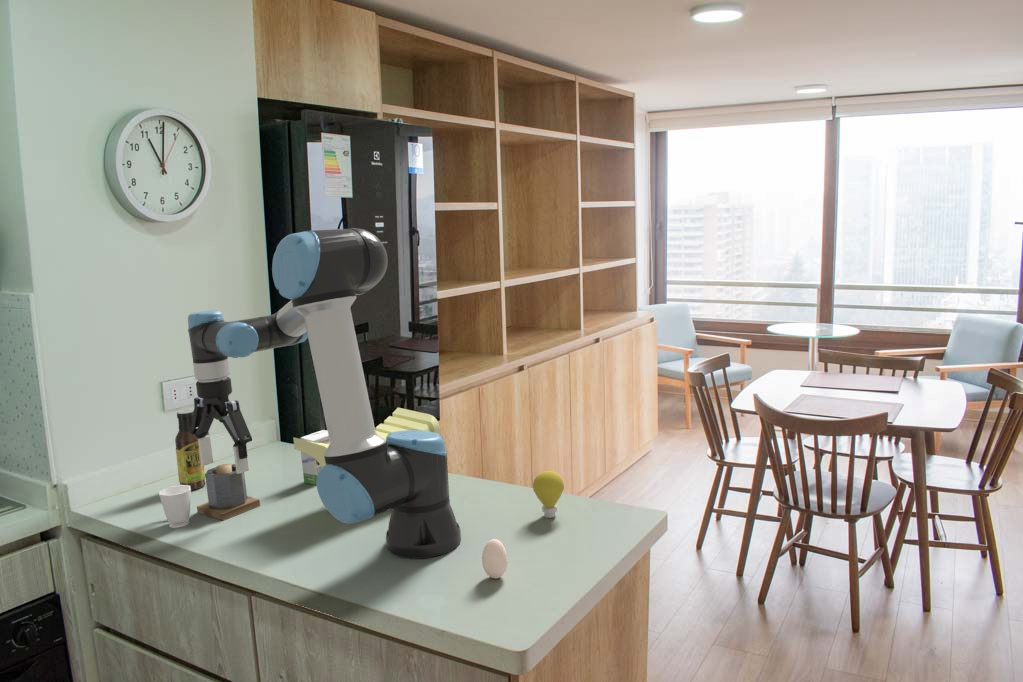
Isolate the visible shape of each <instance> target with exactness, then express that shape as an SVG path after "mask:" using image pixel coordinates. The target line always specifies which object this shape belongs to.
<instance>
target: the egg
mask: <svg viewBox="0 0 1023 682" xmlns="http://www.w3.org/2000/svg"><path fill="white" fill-rule="evenodd" d="M481 563H482V565H481V566H482V568H483V571H484V572H485V574H486V575H487V576H488V577H490V578H491V579H499V578H501V577H503V576H504V574H505V572H506V571H507V568H508V563H509V561H508V554H507V550H506V548H505V546H504V545H503V543H502V542H501V541H500V540H499V539H496V538H492V539H490V540H488V541H487V542H486V544H485V545H484V547H483V550H482V555H481Z"/></svg>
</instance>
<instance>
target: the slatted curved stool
mask: <svg viewBox="0 0 1023 682" xmlns="http://www.w3.org/2000/svg"><path fill="white" fill-rule="evenodd" d="M406 430H419V431H429V432H434V433H437V434H439V435H441V436H442V429H441V425H440V423H439V421H438V419H437V418H436V417H435V416H434V415H431V414H429V413H425V412H421V411H415V410H411V409H408V408H407V409H406V408H401V407H396V409H395V410H394V411H393V412H392V416H391V415H389V416H388V417H386V419H384V421H383V423H379V424H378V425H377V426H376V427H375V431H376V433H377V434H378V435H379V436H381V437H382V438H384V439H385V440H386V437H387V435H388V434H390V433H392V432H397V431H406ZM329 444H330V443H327V444H324V443H314V442H310V441H305V440H302V439H301V438H298V437H294V436H293V446H294V450H297V451H299V452H300V453H301V452H304V453H306V454H308V455H310V456H311V457H313V458H314V459H316V460H317V461H318V462H319V464H320V465H321V467H323V466H325V465H326V463H325V458H324V452H325V451H326V449H327V448H328V446H329Z"/></svg>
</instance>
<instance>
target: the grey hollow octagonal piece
mask: <svg viewBox="0 0 1023 682" xmlns="http://www.w3.org/2000/svg"><path fill="white" fill-rule="evenodd" d="M231 465H232V472H230V473H227V474H218V475H217V471H216V467H217V466H216V467H212V468H208V469H207V471H205V486H206V492H207V502H209V507H210V508H213V509H216V510H222V509H231V508H235V507H237V506H240V505H243V504H245V502H246V500H247V496H248V492H247V485H246V484H247V483H246V477H245V476H246V475H245V472H243V473H240V474H237V472H236V465H235V463H234V464H231Z"/></svg>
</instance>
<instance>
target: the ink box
mask: <svg viewBox="0 0 1023 682" xmlns="http://www.w3.org/2000/svg"><path fill="white" fill-rule="evenodd" d="M300 439H302V440H305V441H310V442H314V443H324V444H327V443H330V440H329V435H328V431H327V429H326V430H325V429H322V430H319V431H316V432H313V433H312V432H311V433H310V434H308V435H307V434H306V435H304V436H301V437H300ZM300 455H301V456H300V457H301V465H302V475H303V483H305V484H308V485H309V484H310V485H315V486H317V483H316V480H317V477H318V476H317V475H318V472H319V470H320V469H322V467H321V465H320V464H319V462H318V461H317V460H316V459H314V458H313V457H311V456H310V455H308V454H306V453H304V452H301V451H300Z"/></svg>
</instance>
